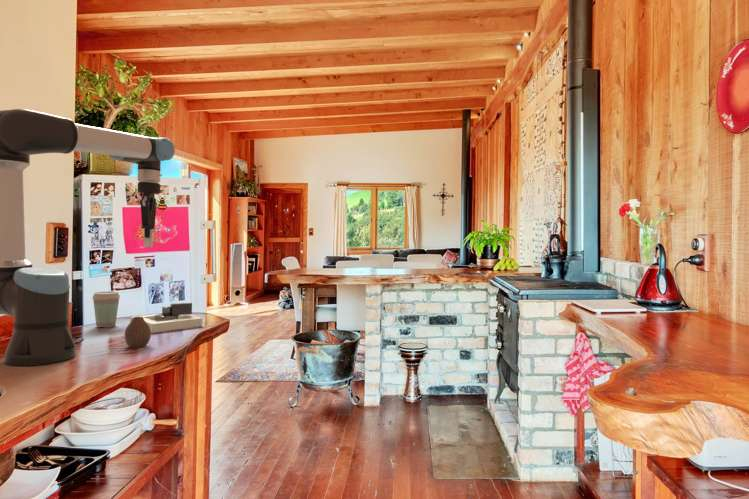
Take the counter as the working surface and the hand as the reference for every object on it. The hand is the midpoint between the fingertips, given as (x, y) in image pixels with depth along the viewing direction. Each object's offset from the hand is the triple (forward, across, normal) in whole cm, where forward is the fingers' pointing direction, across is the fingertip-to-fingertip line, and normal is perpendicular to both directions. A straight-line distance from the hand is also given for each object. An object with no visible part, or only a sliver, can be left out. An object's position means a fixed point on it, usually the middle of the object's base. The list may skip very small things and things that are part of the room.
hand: (148, 246), depth 170 cm
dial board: (+29, -4, -8) cm, 30 cm away
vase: (+29, -36, -7) cm, 47 cm away
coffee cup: (+29, -5, +12) cm, 31 cm away
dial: (+27, -3, -10) cm, 29 cm away
